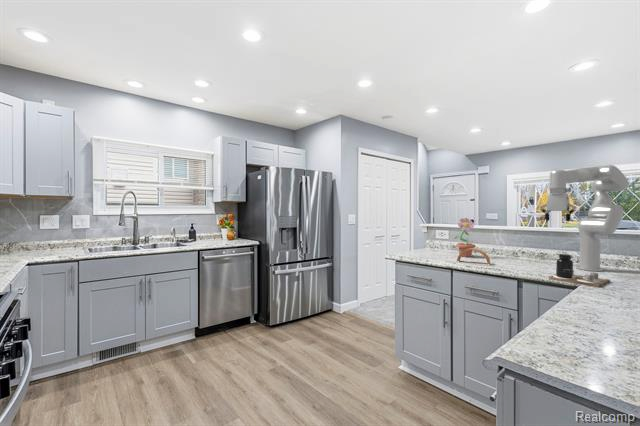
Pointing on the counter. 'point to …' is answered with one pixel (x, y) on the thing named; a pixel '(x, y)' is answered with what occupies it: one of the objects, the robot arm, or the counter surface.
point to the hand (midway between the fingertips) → (557, 220)
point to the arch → (477, 251)
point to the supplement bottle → (564, 266)
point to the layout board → (583, 279)
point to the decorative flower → (465, 225)
